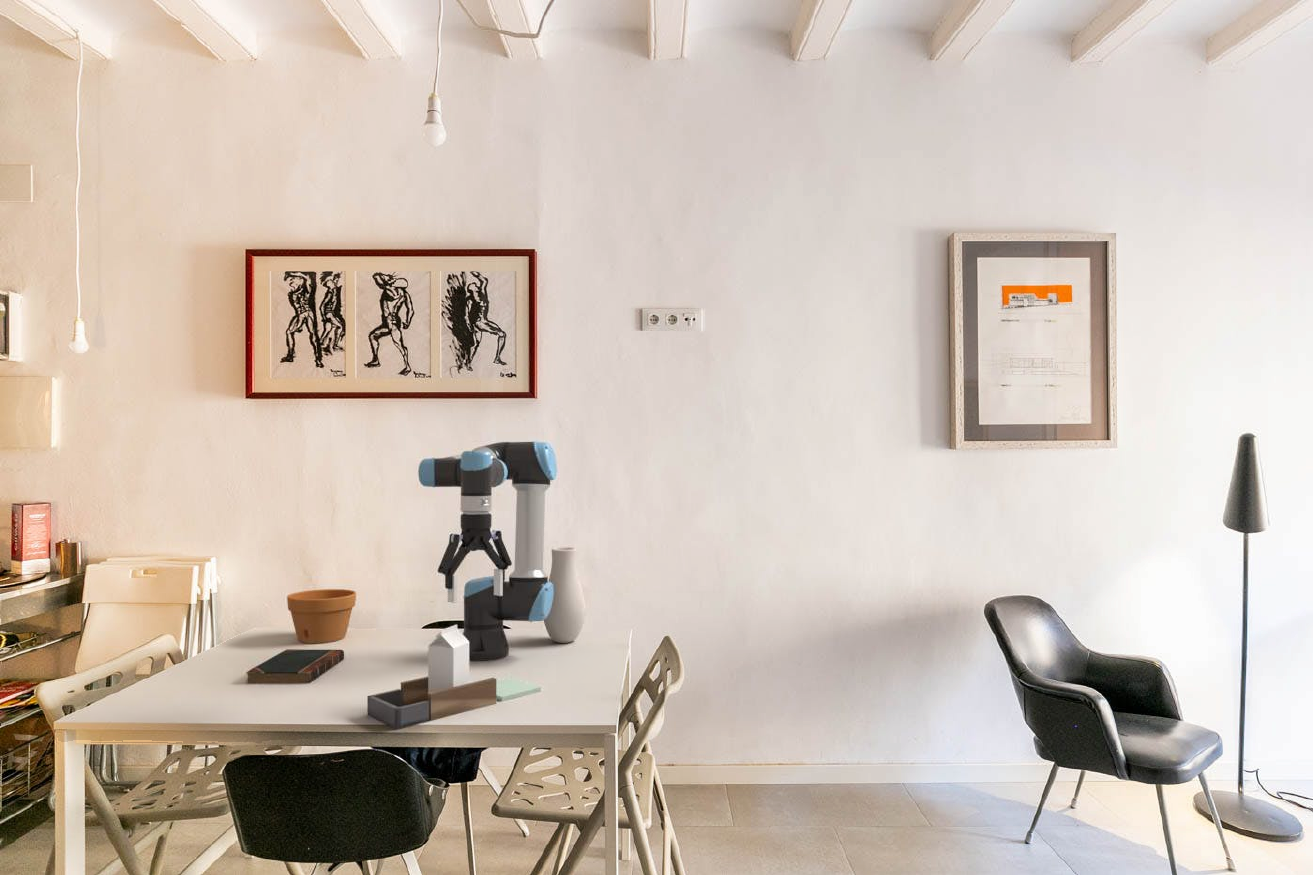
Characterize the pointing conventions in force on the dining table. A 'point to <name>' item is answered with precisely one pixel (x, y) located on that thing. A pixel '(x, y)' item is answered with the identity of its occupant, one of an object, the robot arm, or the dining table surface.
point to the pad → (513, 688)
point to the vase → (565, 597)
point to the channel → (449, 696)
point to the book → (295, 666)
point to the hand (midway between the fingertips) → (475, 598)
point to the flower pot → (321, 614)
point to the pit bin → (396, 710)
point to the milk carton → (448, 660)
